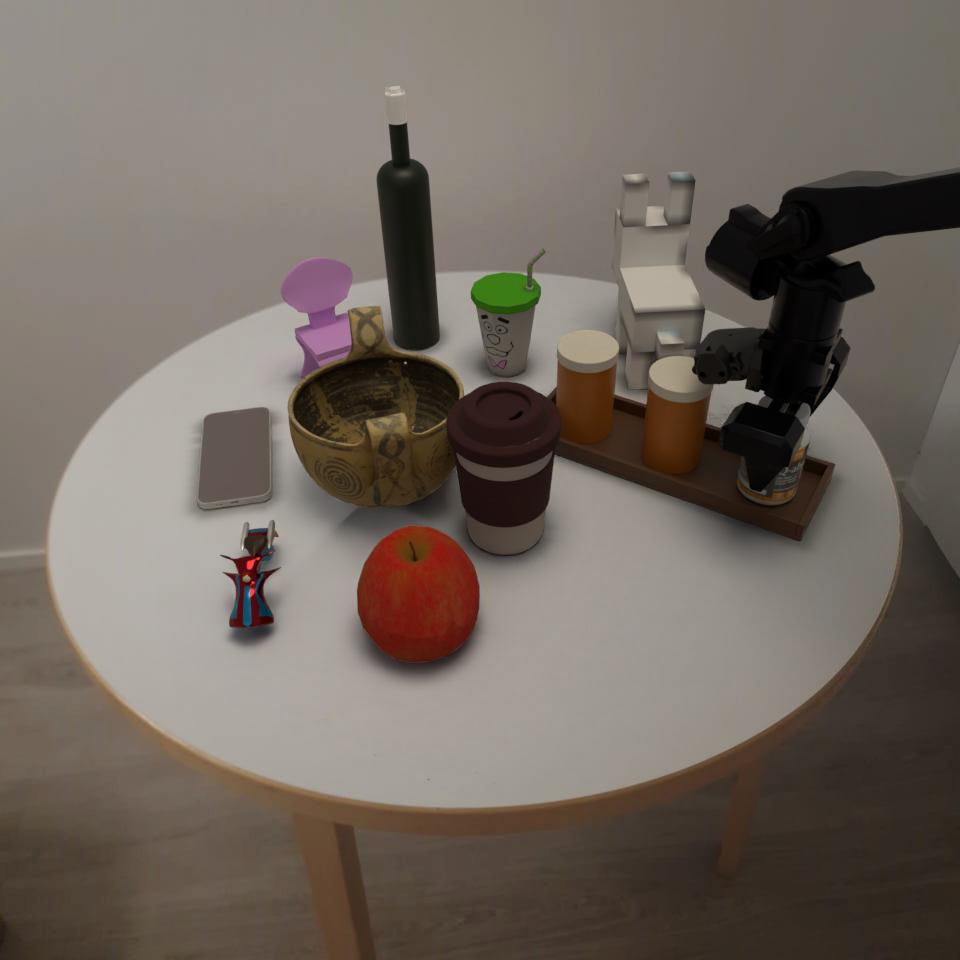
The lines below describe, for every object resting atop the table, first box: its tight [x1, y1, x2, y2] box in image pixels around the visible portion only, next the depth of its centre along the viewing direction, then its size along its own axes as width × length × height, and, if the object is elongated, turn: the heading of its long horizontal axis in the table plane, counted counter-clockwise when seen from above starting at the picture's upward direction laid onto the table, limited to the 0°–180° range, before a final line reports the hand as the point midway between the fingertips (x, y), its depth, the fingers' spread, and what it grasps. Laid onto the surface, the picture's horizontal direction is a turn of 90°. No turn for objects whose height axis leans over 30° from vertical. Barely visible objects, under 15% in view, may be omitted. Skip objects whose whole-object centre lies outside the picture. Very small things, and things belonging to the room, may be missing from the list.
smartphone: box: [196, 406, 273, 510], centre depth 96 cm, size 7×1×15 cm
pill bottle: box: [737, 395, 811, 505], centre depth 86 cm, size 6×6×10 cm
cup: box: [470, 248, 546, 378], centre depth 103 cm, size 8×8×15 cm
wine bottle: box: [375, 84, 441, 351], centre depth 103 cm, size 6×6×30 cm
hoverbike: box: [219, 519, 282, 629], centre depth 80 cm, size 5×12×6 cm, turn 5°
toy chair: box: [280, 256, 354, 378], centre depth 101 cm, size 8×9×15 cm
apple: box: [356, 524, 481, 664], centre depth 75 cm, size 10×10×10 cm
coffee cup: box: [446, 381, 562, 556], centre depth 82 cm, size 10×10×15 cm
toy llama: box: [611, 170, 706, 391], centre depth 102 cm, size 8×18×20 cm, turn 3°
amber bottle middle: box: [641, 356, 715, 474], centre depth 90 cm, size 6×6×10 cm
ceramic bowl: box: [287, 305, 465, 509], centre depth 88 cm, size 22×17×15 cm
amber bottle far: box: [556, 329, 620, 444], centre depth 95 cm, size 6×6×10 cm
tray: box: [546, 386, 836, 542], centre depth 93 cm, size 30×10×2 cm, turn 58°
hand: (770, 463), depth 88 cm, fingers open, 8 cm apart
